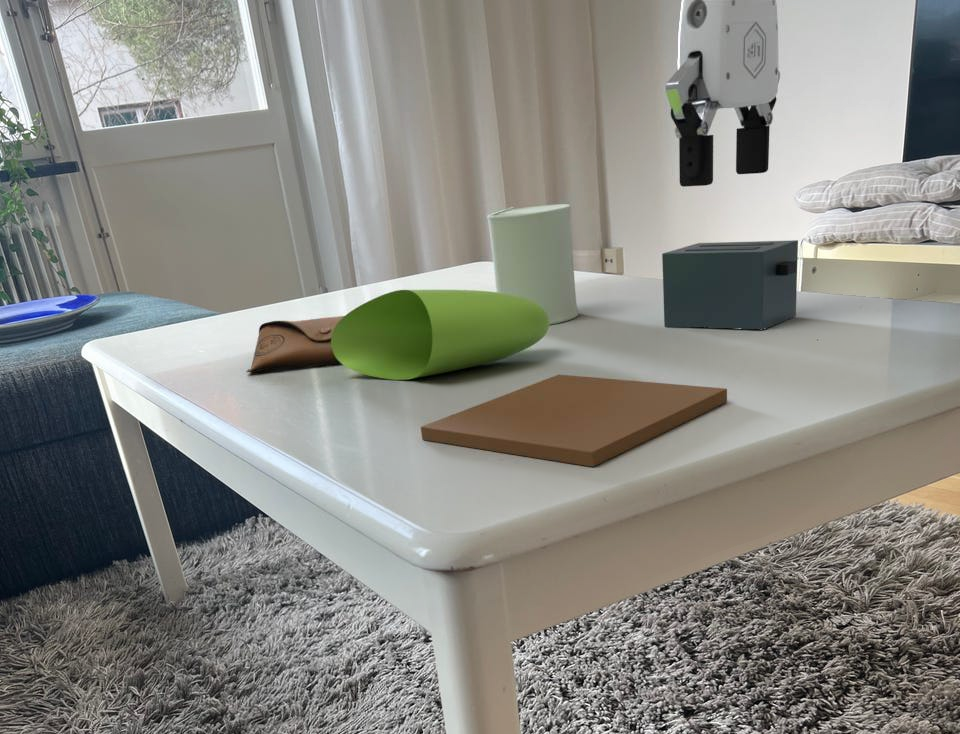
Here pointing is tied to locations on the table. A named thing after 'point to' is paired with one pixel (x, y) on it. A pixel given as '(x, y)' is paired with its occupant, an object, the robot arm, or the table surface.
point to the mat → (575, 418)
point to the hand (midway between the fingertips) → (724, 179)
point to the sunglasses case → (295, 344)
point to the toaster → (730, 284)
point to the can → (535, 257)
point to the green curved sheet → (435, 332)
